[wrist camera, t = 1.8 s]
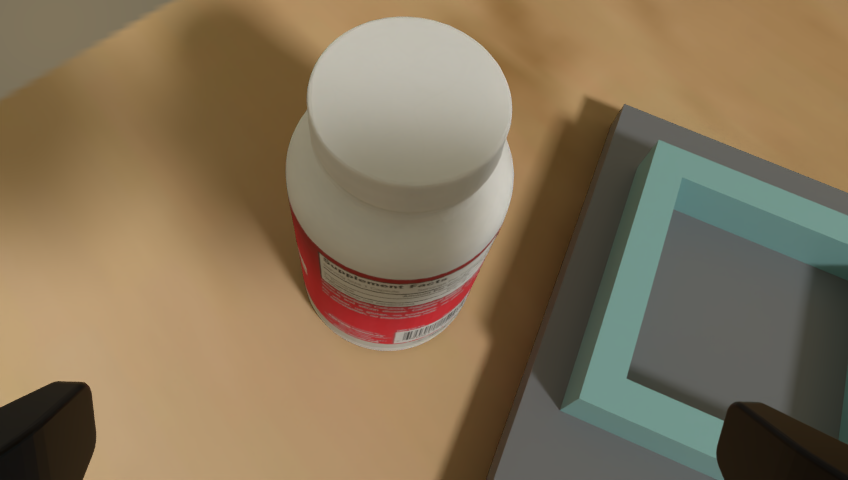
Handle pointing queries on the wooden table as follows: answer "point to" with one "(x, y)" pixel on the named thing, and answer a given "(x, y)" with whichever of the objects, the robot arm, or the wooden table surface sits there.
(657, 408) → the jig board
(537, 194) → the wooden table surface
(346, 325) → the pill bottle
